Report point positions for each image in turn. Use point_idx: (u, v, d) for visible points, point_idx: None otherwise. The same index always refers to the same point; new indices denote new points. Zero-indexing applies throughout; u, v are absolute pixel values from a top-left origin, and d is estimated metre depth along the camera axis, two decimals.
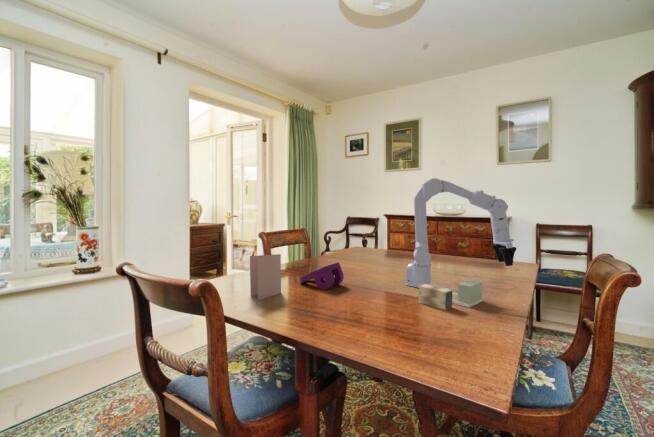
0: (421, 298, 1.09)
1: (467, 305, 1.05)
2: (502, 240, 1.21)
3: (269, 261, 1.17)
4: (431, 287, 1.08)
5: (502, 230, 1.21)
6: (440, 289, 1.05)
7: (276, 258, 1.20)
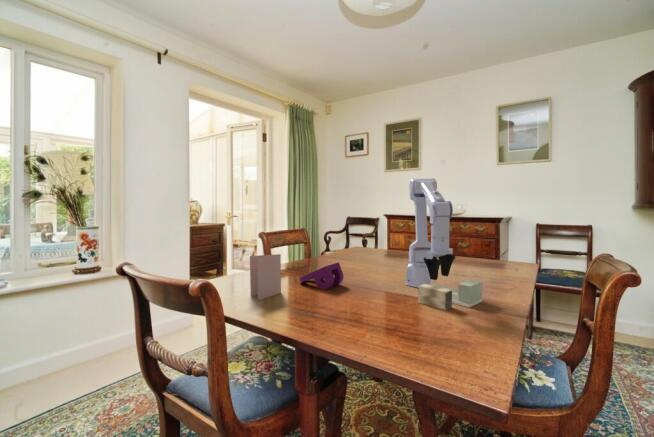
0: (421, 297, 1.09)
1: (467, 305, 1.05)
2: (433, 249, 1.05)
3: (269, 261, 1.17)
4: (431, 287, 1.08)
5: (435, 238, 1.04)
6: (440, 289, 1.05)
7: (276, 258, 1.20)
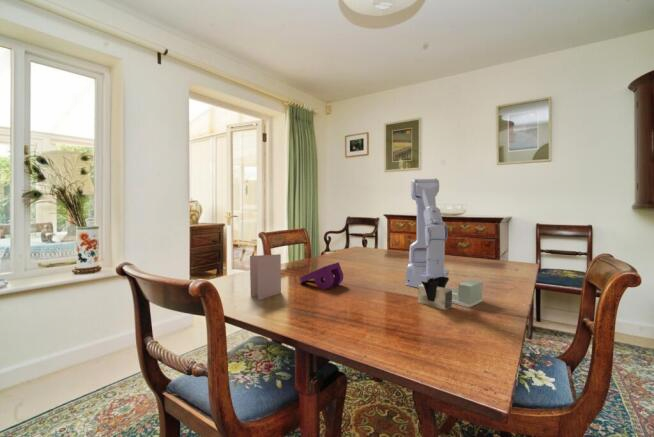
0: (421, 297, 1.09)
1: (467, 305, 1.05)
2: (428, 272, 1.06)
3: (269, 261, 1.17)
4: None
5: (430, 260, 1.05)
6: (440, 289, 1.06)
7: (276, 258, 1.20)
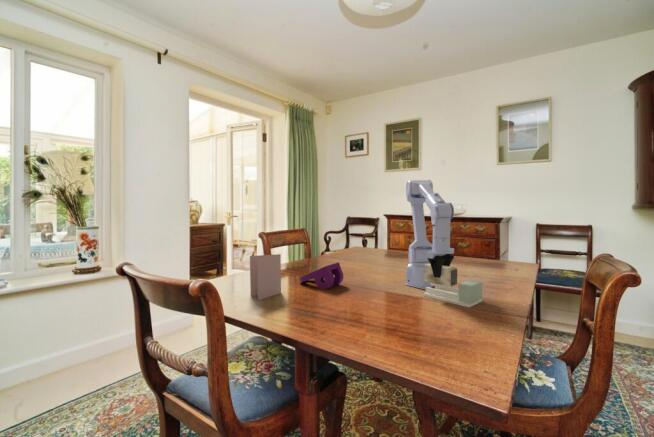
0: (427, 276, 1.13)
1: (467, 305, 1.05)
2: (434, 249, 1.10)
3: (269, 261, 1.17)
4: None
5: (436, 238, 1.09)
6: (445, 267, 1.09)
7: (276, 258, 1.20)
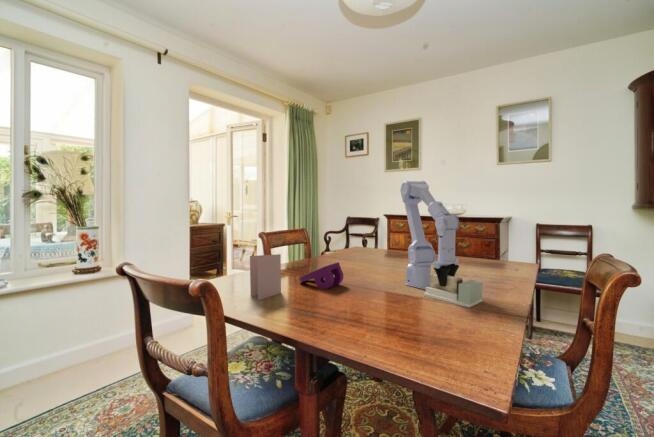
0: (433, 285, 1.18)
1: (467, 305, 1.05)
2: (440, 259, 1.14)
3: (269, 261, 1.17)
4: None
5: (442, 249, 1.14)
6: (451, 277, 1.14)
7: (276, 258, 1.20)
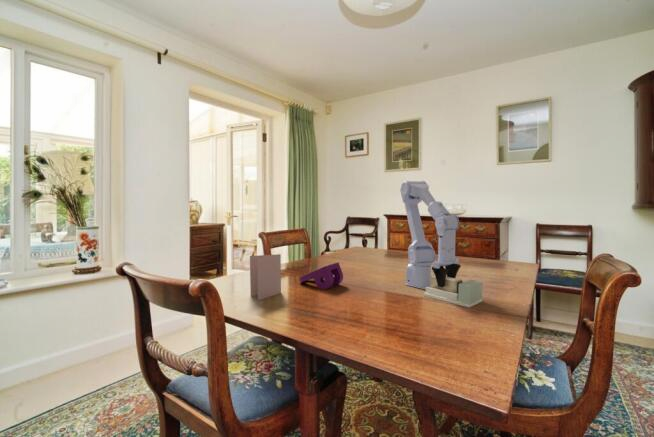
0: (433, 287, 1.18)
1: (467, 305, 1.05)
2: (440, 259, 1.14)
3: (269, 261, 1.17)
4: None
5: (442, 249, 1.14)
6: (451, 279, 1.14)
7: (276, 258, 1.20)
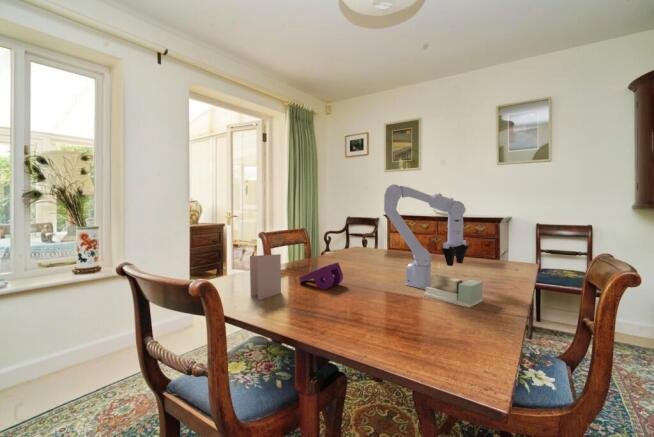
0: (433, 287, 1.18)
1: (467, 305, 1.05)
2: (449, 241, 1.26)
3: (269, 261, 1.17)
4: (442, 277, 1.16)
5: (451, 231, 1.26)
6: (451, 279, 1.14)
7: (276, 258, 1.20)
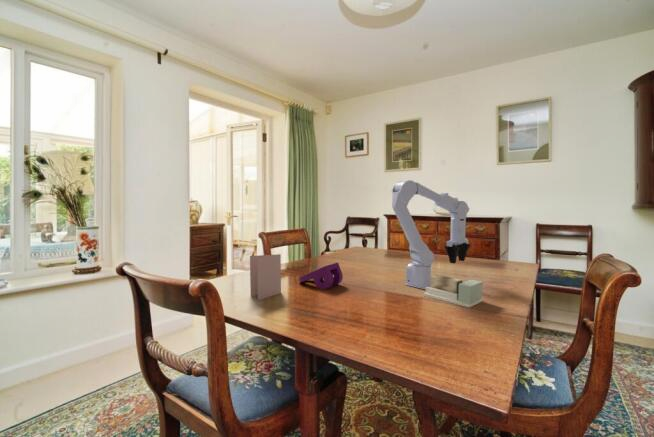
0: (433, 287, 1.18)
1: (467, 305, 1.05)
2: (452, 239, 1.32)
3: (269, 261, 1.17)
4: (442, 277, 1.16)
5: (454, 230, 1.31)
6: (451, 279, 1.14)
7: (276, 258, 1.20)
